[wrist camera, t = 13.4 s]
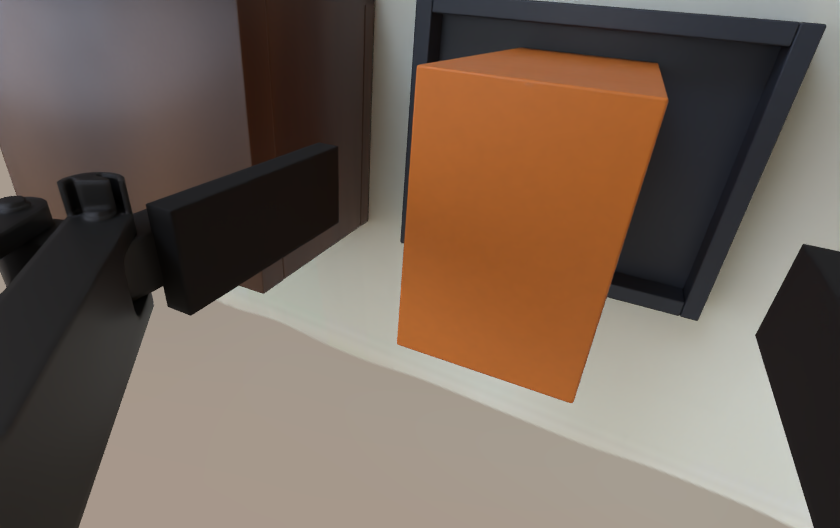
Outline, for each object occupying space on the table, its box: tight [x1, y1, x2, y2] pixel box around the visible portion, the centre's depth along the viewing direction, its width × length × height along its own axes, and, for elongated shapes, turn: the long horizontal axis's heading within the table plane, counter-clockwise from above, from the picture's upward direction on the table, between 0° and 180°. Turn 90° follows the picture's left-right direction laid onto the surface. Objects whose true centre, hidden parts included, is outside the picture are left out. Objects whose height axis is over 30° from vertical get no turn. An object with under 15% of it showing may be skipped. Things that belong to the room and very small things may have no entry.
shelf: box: [0, 0, 374, 293], centre depth 21 cm, size 17×13×20 cm
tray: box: [401, 0, 826, 321], centre depth 23 cm, size 16×13×2 cm
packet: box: [397, 48, 668, 403], centre depth 18 cm, size 6×9×12 cm, turn 175°
